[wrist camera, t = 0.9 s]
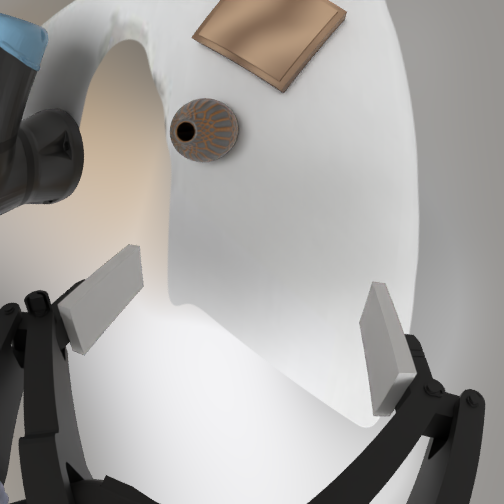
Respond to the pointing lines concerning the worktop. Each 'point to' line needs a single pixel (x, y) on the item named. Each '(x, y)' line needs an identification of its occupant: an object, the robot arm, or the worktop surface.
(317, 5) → the tray
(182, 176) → the worktop surface
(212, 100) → the vase
